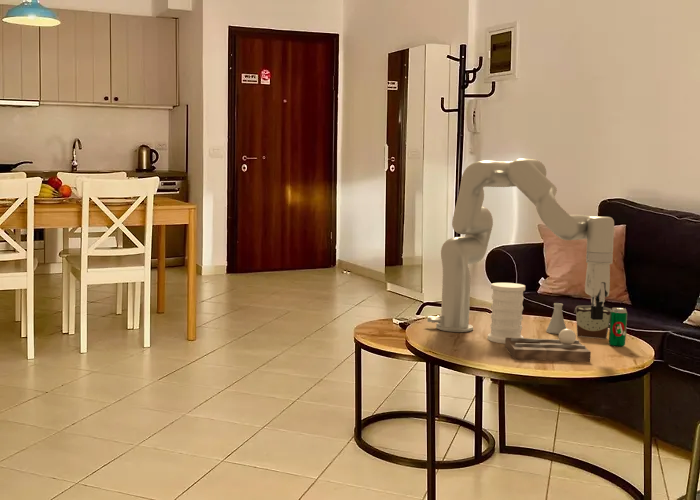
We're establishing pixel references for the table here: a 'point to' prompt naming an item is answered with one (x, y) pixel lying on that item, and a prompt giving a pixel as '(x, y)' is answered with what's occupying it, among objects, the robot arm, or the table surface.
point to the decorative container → (506, 311)
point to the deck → (546, 350)
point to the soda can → (618, 327)
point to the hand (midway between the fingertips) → (596, 319)
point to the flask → (556, 320)
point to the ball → (567, 337)
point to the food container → (591, 323)
